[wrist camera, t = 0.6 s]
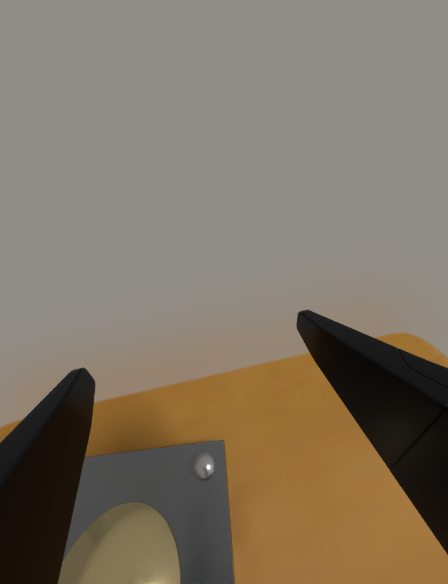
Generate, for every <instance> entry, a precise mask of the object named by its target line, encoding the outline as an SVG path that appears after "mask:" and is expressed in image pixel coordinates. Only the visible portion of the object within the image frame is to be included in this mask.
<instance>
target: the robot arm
mask: <svg viewBox="0 0 448 584" xmlns="http://www.w3.org/2000/svg"><path fill="white" fill-rule="evenodd" d="M297 330H298V331H299V333H300V335H301V337H302V339H303V341H304V343H305V345H306V346H307V348H308V350H309V352H310V354H311V356H312V357H313V359H314V361H315V362H316V364H317V365H318V367H319V368H320V369H321V371H322V372H323V374H324V375H325V377H326V378H327V380H328V381H329V383H330V384H331V385H332V387H333V388H334V390H335V391H336V393H337V394H338V396H339V397H340V399H341V400H342V401H343V403H344V404H345V406H346V407H347V409H348V410H349V412H350V413H351V415H352V416H353V417H354V419H355V420H356V422H357V423H358V425H359V426H360V428H361V429H362V431H363V432H364V433H365V435H366V436H367V438H368V439H369V441H370V442H371V444H372V445H373V447H374V448H375V449H376V451H377V452H378V454H379V455H380V457H381V458H382V460H383V461H384V463H385V464H386V465H387V467H388V468H389V469H390V471H391V473H392V474H393V476H394V477H395V479H396V480H397V482H398V483H399V485H400V486H401V487H402V489H403V490H404V492H405V493H406V495H407V496H408V498H409V499H410V501H411V502H412V503H413V505H414V506H415V508H416V509H417V511H418V512H419V514H420V515H421V517H422V518H423V519H424V521H425V522H426V524H427V525H428V527H429V528H430V530H431V531H432V533H433V534H434V535H435V537H436V538H437V540H438V541H439V543H440V544H441V546H442V547H443V548H444V550H445V551H446V553H447V554H448V368H446V367H443V366H441V365H438V364H435V363H433V362H430V361H428V360H425V359H423V358H420V357H418V356H415V355H413V354H411V353H408V352H406V351H404V350H401V349H397V348H396V347H394V346H392V345H389V344H387V343H385V342H382V341H380V340H378V339H375V338H373V337H371V336H368V335H366V334H363V333H361V332H359V331H357V330H354V329H352V328H349V327H347V326H345V325H343V324H340V323H338V322H335V321H333V320H331V319H328V318H326V317H324V316H321V315H319V314H317V313H314V312H312V311H310V310H303V311H300V312H299V313H298V317H297ZM94 394H95V381H94V379H93V378H92V376H91V375H90V374H89V372H88V371H87V370H86V369H85V368H80V369H75V370H73V371H71V372H70V373H69V374H68V375H67V376H66V377H65V378H64V379H63V380H62V381H61V382H60V383H59V384H58V385H57V386H56V387H55V388H54V389H53V390H52V391H51V392H50V393H49V394H48V395H47V396H46V397H45V398H44V399H43V400H42V401H41V402H40V403H39V404H38V405H37V406H36V407H35V408H34V409H33V410H32V411H31V413H29V414H28V415H27V416H26V417H25V418H24V419H23V420H22V421H21V422H20V423H19V424H18V425H17V426H16V427H15V429H14V430H13V431H12V432H11V433H10V434H9V435H8V436H7V437H6V438H5V439H4V440H3V441H2V442H1V443H0V584H58V581H59V577H60V572H61V567H62V562H63V558H64V553H65V548H66V543H67V539H68V534H69V529H70V524H71V520H72V515H73V510H74V506H75V501H76V496H77V491H78V487H79V482H80V477H81V472H82V468H83V463H84V458H85V453H86V449H87V444H88V439H89V434H90V429H91V423H92V414H93V404H94Z"/></svg>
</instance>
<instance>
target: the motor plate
mask: <svg viewBox="0 0 448 584" xmlns="http://www.w3.org/2000/svg"><path fill="white" fill-rule="evenodd" d="M58 584H235V577H234V564H233V550H232V536H231V523H230V509H229V496H228V482H227V468H226V455H225V444H224V440H218V441H210V442H203V443H195V444H187V445H179V446H171V447H163V448H156V449H148V450H140V451H132V452H124V453H116V454H108V455H101V456H93V457H85V458H84V463H83V468H82V472H81V477H80V482H79V487H78V491H77V496H76V501H75V506H74V510H73V515H72V520H71V524H70V529H69V534H68V539H67V543H66V548H65V553H64V558H63V562H62V567H61V572H60V577H59V581H58Z"/></svg>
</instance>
